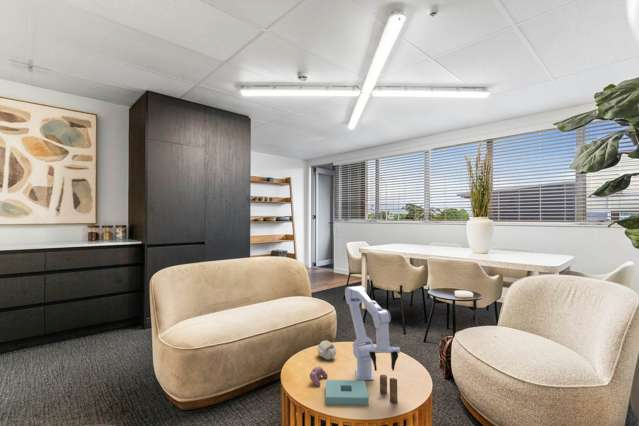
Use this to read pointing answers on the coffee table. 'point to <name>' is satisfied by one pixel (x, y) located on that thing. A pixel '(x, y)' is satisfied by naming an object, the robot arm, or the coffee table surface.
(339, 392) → the block
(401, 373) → the coffee table surface
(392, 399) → the tall pin
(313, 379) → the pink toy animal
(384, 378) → the short pin
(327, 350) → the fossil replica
